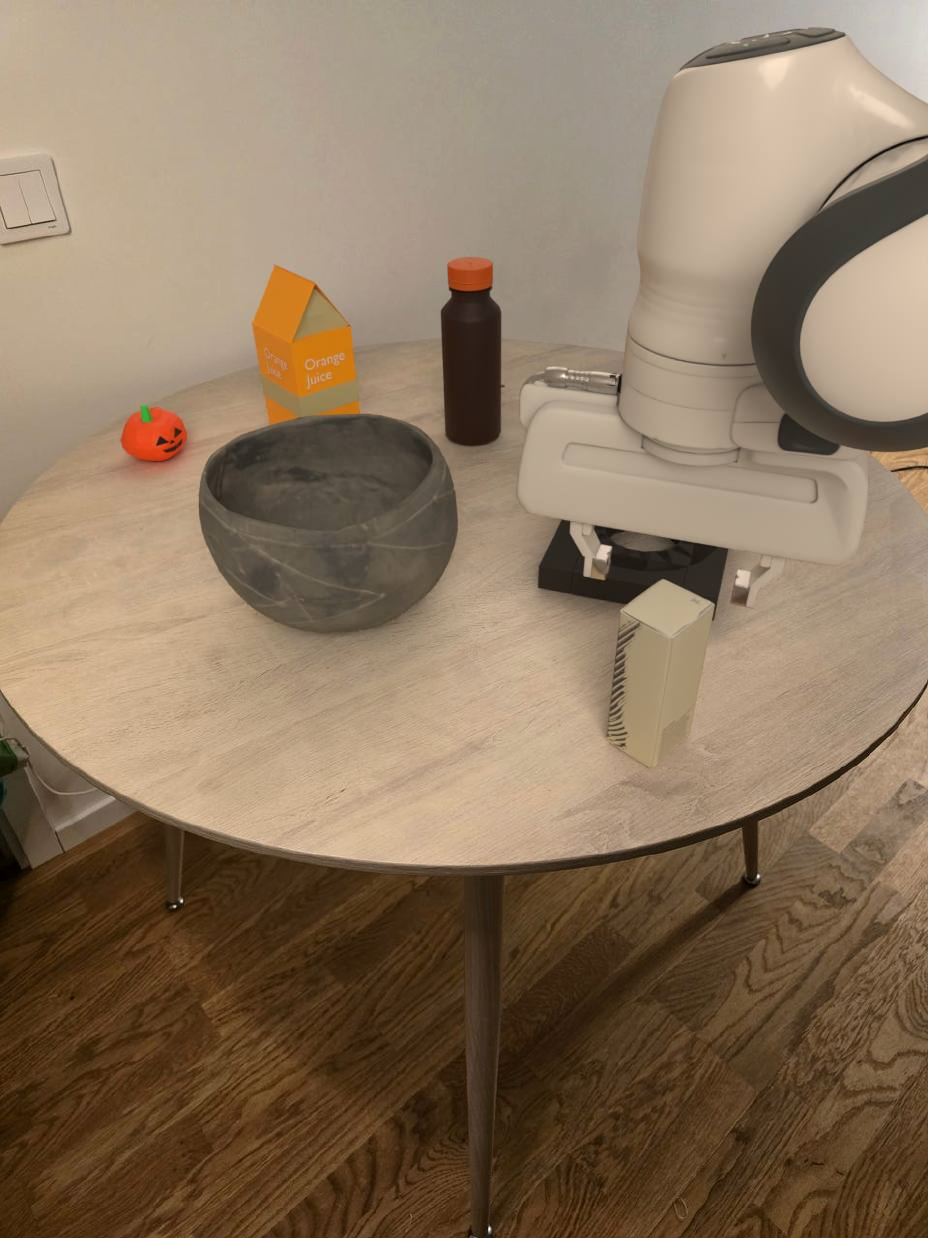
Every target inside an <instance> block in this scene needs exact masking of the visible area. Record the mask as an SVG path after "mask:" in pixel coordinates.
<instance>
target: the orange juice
mask: <svg viewBox="0 0 928 1238" xmlns="http://www.w3.org/2000/svg"><path fill="white" fill-rule="evenodd" d="M273 265H274V266H273V268H272V271H271V274H270V276H269V279H268V281H267V284H266V287H265V288H264V292H263V294H262V297H261V300H260V302H259V305H258V307H257V310H256V312H255V315H254V317H253V321H251V327H252V332H253V333H252V334H253V338H254V344H255V350H256V356H257V362H258V368H259V372H260V373H259V374H260V375H259V376H260V380H261V385H262V386H261V387H262V392H263V396H264V401H265V406H266V407H265V408H266V412H267V418H268V422H269V423H268V424H269V425H273V424H276V423H279V422H283V421H288V420H292V419H295V418H299V417H305V416H315V415H338V414H361V410H360V402H359V401H360V396H359V395H360V394H359V387H358V385H359V384H358V379H357V372H356V362H355V353H354V344H353V334H352V325H351V324H350V323H349V322H348V320H346V318H345V317H344V316H343V314H341V312H340V311H339V310H338V308H337V307H336V306H335V305H334V304H333V303H332V302H331V300H330V299H329V298H328V297H327V295H326V294H325V293H324V292H323V291H322V289H321V288H320V287H319V286H318V284H317V283H316V282H315V281H313V280H310V279H308V278H306V277H304V276H301V275H299V274H297V273H294V272H293V271H290V270H288V269H285V268H284V267H281V266H279V265H276V264H275V263H274V264H273Z"/></svg>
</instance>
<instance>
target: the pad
mask: <svg viewBox="0 0 928 1238" xmlns="http://www.w3.org/2000/svg"><path fill="white" fill-rule="evenodd" d="M570 522H571V521H568V520H562V519H560V523H559V524H558V527H557V528H556V530H555V533H554V535H553V536H552V539H551V541H550V543H549V545H548V547H547V549H546V551H545V553H544V554H543V557H542V559H541V561H540V562H539V564H538V575H537V588H538V589H542V590H548V591H552V592H553V591H554V592H558V593H565V594H569V595H570V594H571V595H573V596H579V597H584V598H590V599H596V600H601V601H606V602H612V603H616V604H617V603H618V604H622V605H627V604H628V603H630V602H631V601H632V600H634V599H635V598H636V597H637V596H639V595H640V594H642V593H643V592H644V591H646V590H647V589H648V588H650V587H651V586H653V585H654V584H656V583H657V582H658V581H660V580H662V579H664V580H667V581H669V582H671V583H673V584H675V585H677V586H679V587H682V588H684V589H686V590H688V591H690V592H692V593H694V594H696V595H698V596H700V597H702V598H704V599H707V600H709V601H711V602H712V603H714V604H715V607H714V613H713V618H712V622H713V621H715V617H716V611H717V607H718V602H719V597H720V593H721V587H722V582H723V578H724V572H725V569H726V563H727V557H728V554H729V553H728V552H729V549H728V548H723V547H717V546H711V545H706V544H700V543H694V542H688V541H683V540H677V539H671V538H669V540H671V541H672V542H673V543H674V544H675V545H673V546H671V547H667V548H665V549H661V550H648V551H644V550H638V549H632V548H628V547H626V546H623V545H621V544H619V543H616V542H615V541H614V540H613V539H612V538H611V537H612V536H613V535H616V534H619V533H622V532H626V531H625V530H620V529H614V528H608V527H602V526H597V525H595V527H594V530H595V533H596V535H597V537H598V539H599V541H600V543H601V544H603V545H608V546H612V555H611V558H610V560H611V564H610V569H609V572H608V574H607V577H606V580H601V579H595V578H591V577H585V576H584V575H583V572H584V561H585V556H583V555H582V554H581V552H580V550H579V548H578V547H577V545H576V543H575V541H574V540H573V538H572V536H571V534H570Z"/></svg>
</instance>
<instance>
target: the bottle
mask: <svg viewBox="0 0 928 1238" xmlns="http://www.w3.org/2000/svg"><path fill="white" fill-rule="evenodd" d="M446 266H447V267H446V269H447V286H448V291H449V292H450V293H451V294H450V298H449V299H448V300H447V302H446V303H445V304H444V305H443V306H442V308H441V309H440V334H441V335H440V336H441V357H442V359H441V360H442V384H443V407H444V408H443V409H444V411H443V412H444V432H445V436H446V437H447V438H448V440H450V441H451V442H453V443H456V444H459V445H462V446H471V447H472V446H482V445H486V444H489V443H491V442H493V441H495V440H496V439H498V437H499V436H500V435H501V433H502V309H501V307H500V305H499V304H498V303H497V302H496V301H495V300H494V299H493V297H492V296H491V291H492V290H493V284H494V267H493V266H494V263H493V261H492V260H490V259H488V258H486V257H479V256H463V257H459V258H455V259H451V260H450V261H449V262H448V263H447V265H446Z"/></svg>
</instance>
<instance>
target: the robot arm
mask: <svg viewBox="0 0 928 1238" xmlns="http://www.w3.org/2000/svg"><path fill="white" fill-rule="evenodd" d="M646 163H647V165H646V170H645V174H644V175H645V176H644V181H643V189H642V195H641V202H640V209H639V216H638V217H639V218H638V226H637V234H636V253H637V258H638V264H639V271H640V272H639V285H638V286H639V287H638V291H637V294H636V298H635V302H634V303H633V306H632V308H631V311H630V313H629V316H628V320H627V326H626V335H625V344H624V352H623V353H624V354H623V362H622V372H621V373H616V372H615V373H614V372H605V371H597V370H591V371H590V370H575V369H570V368H569V367H565V366H556V365H555V366H553V365H552V366H546V368H545V369H544V371H540V372H535V373H534V374H532V375H530V376H529V377H527V378H526V379H525V381H524V382H523V383H522V385H521V387H520V390H519V400H518V401H519V404H518V417H519V421H520V426H521V427H522V429H523V431H525V432H526V433H525V436H524V440H523V444H522V448H521V454H520V458H519V464H518V469H517V470H518V471H517V476H516V477H517V479H516V489H515V493H516V495H515V496H516V499H517V501H518V502H519V504H520V506H521V507H522V508H523V510H524V511H525V512H526V513H528V514H529V515H533V516H540V517H546V518H551V519H557V520H568V521H571V522H570V534H571V536H572V538H573V540H574V541H575V543H576V545H577V547H578V548H579V550H580V552H581V554H582V555H583V556H585V561H584V572H583V575H584V576H585V577H591V578H595V579H601V580H606V577H607V574H608V572H609V569H610V564H611V560H610V558H611V555H612V546H608V545H603V544H601V543H600V541H599V539H598V537H597V535H596V533H595V530H594V527H595V525H597V526H602V527H608V528H614V529H620V530H625V531H624V532H631V533H637V534H643V535H650V536H655V537H660V538H667V539H670V538H671V539H677V540H683V541H688V542H694V543H700V544H706V545H711V546H717V547H723V548H728V550H729V549H730V550H735V551H741V552H745V553H746V552H747V553H752V554H757V555H760V561H759V562H758V563H757V564H756V565H755V566H754V567H753V568H752V569H750V570H747V569H740V568H737V570H736V574H735V578H734V583H733V587H732V590H731V596H730V602H729V604H730V605H734V606H738V607H743V608H747V609H753V610H754V608H755V606H756V602H757V598H758V593H759V590H762V589H763V588H765V587H766V586H767V585H768V584H769V583H771V582H772V581H773V580H774V579H775V578H777V577H778V576H779V575H780V574H781V573H783V572H784V571H785V570H784V569H785V566H786V562H787V560H792V561H798V562H804V563H810V564H814V565H821V566H825V567H833V568H835V567H839V566H841V565H843V564H845V563H847V562H848V561H849V560H851V559H852V558H854V557H855V556H856V555H857V552H858V550H859V547H860V544H861V539H862V536H863V532H864V527H865V521H866V516H867V509H868V501H869V500H868V499H869V487H870V486H869V481H870V480H869V479H870V478H869V476H870V473H869V472H870V471H869V470H870V469H869V468H870V467H869V454H868V453H869V452H876V453H901V452H910V451H911V452H912V451H916V450H922V449H926V448H928V102H927V101H924V100H923V99H920V98H919V97H917V96H916V95H914V94H912V92H911V93H910V92H909V91H908V90H906V89H905V88H903V87H902V86H900V85H899V84H898V83H896V82H895V81H893V80H892V79H890V77H888V76H887V75H886V74H884V73H883V72H882V71H880V70H879V69H878V68H877V67H875V66H874V65H873V64H872V63H871V62H870V61H869V60H868V58H866V57H865V56H864V55H863V53H862V52H861V51H860V50H859V48H858V47H857V46H856V44H855V42H854V41H853V39H852V38H851V37H850V36H849V34H847V33H846V32H844V31H839V30H836V29H835V28H829V27H819V26H817V27H811V26H810V27H808V28H794V29H793V28H792V29H787V30H780V31H774V32H769V33H768V32H767V33H763V34H758V35H752V36H747V37H744V38H741V39H740V40H739V39H738V40H733V41H731V42H722V43H719V44H718V45H714V46H711V47H710V48H707V49H705V50H704V51H702V52H700V53H698V54H697V55H695V56H693V57H692V58H691V59H689V60H688V61H687V62H685V63H684V64H683V65H682V66H681V67H680V68H679V69H678V71H677V72H676V73H675V74H674V75H673V76H672V77H671V78H670V80H669V83H668V84H667V87H666V89H665V91H664V94H663V97H662V99H661V103H660V106H659V109H658V113H657V116H656V121H655V125H654V129H653V133H652V138H651V143H650V146H649V153H648V158H647V162H646ZM540 380H543V381H540ZM671 539H670V540H671Z"/></svg>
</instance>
